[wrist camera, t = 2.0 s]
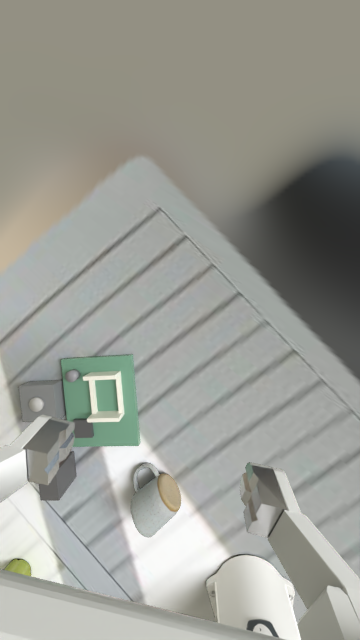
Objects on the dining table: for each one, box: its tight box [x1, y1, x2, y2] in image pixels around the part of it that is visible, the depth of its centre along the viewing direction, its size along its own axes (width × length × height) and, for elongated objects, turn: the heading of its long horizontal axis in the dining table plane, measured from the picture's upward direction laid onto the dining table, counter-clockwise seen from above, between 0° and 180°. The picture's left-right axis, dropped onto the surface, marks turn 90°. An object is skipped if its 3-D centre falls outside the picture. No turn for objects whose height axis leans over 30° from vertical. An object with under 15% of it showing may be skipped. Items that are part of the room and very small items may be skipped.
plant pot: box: [4, 559, 31, 576], centre depth 45 cm, size 9×9×9 cm
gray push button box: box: [19, 380, 66, 422], centre depth 45 cm, size 8×8×4 cm
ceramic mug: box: [131, 463, 181, 537], centre depth 42 cm, size 11×8×8 cm
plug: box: [39, 452, 76, 500], centre depth 44 cm, size 7×4×6 cm, turn 4°
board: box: [61, 354, 140, 447], centre depth 43 cm, size 20×16×4 cm
